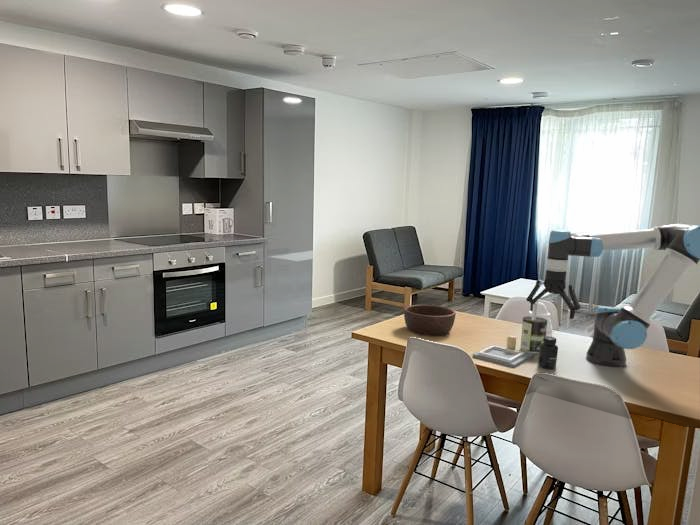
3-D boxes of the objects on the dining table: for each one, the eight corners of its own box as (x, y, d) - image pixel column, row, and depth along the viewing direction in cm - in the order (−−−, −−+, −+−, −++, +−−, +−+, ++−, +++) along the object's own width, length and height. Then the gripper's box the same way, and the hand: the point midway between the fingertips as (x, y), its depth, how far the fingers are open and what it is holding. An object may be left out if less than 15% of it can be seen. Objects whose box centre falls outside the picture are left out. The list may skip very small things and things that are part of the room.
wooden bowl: (392, 328, 260) (393, 308, 259) (425, 321, 277) (426, 302, 275) (432, 340, 242) (433, 318, 240) (464, 332, 259) (466, 312, 257)
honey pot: (525, 338, 252) (529, 301, 249) (522, 331, 264) (525, 296, 262) (554, 341, 250) (557, 303, 247) (549, 334, 262) (552, 298, 260)
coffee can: (547, 350, 235) (550, 319, 233) (540, 355, 226) (543, 323, 225) (524, 345, 241) (527, 315, 239) (516, 350, 233) (519, 318, 231)
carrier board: (533, 356, 224) (534, 340, 223) (514, 367, 209) (515, 350, 208) (493, 347, 236) (494, 331, 235) (472, 356, 220) (473, 340, 219)
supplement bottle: (553, 371, 207) (556, 341, 205) (535, 367, 211) (538, 337, 209) (558, 366, 212) (561, 337, 211) (541, 362, 216) (543, 334, 215)
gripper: (592, 273, 201) (586, 327, 204) (528, 265, 217) (523, 315, 220) (586, 275, 195) (580, 331, 198) (521, 266, 211) (516, 318, 214)
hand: (550, 323), depth 209 cm, fingers open, 13 cm apart
